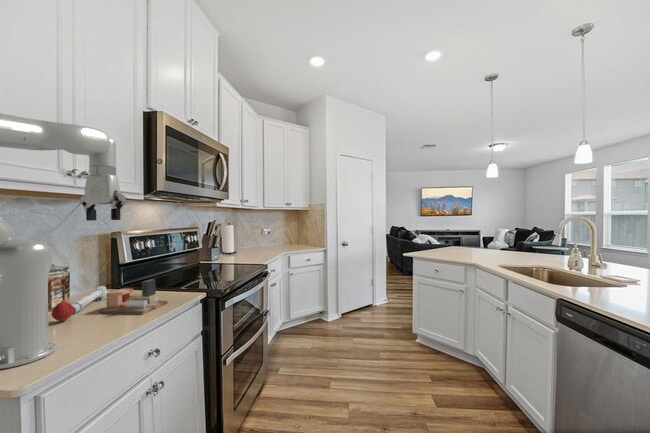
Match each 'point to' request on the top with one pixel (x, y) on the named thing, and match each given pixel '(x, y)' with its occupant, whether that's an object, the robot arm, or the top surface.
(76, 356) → the top surface
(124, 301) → the socket block
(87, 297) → the white rod
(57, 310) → the onion
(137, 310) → the base board
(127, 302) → the guide sleeve
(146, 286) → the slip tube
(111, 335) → the top surface
